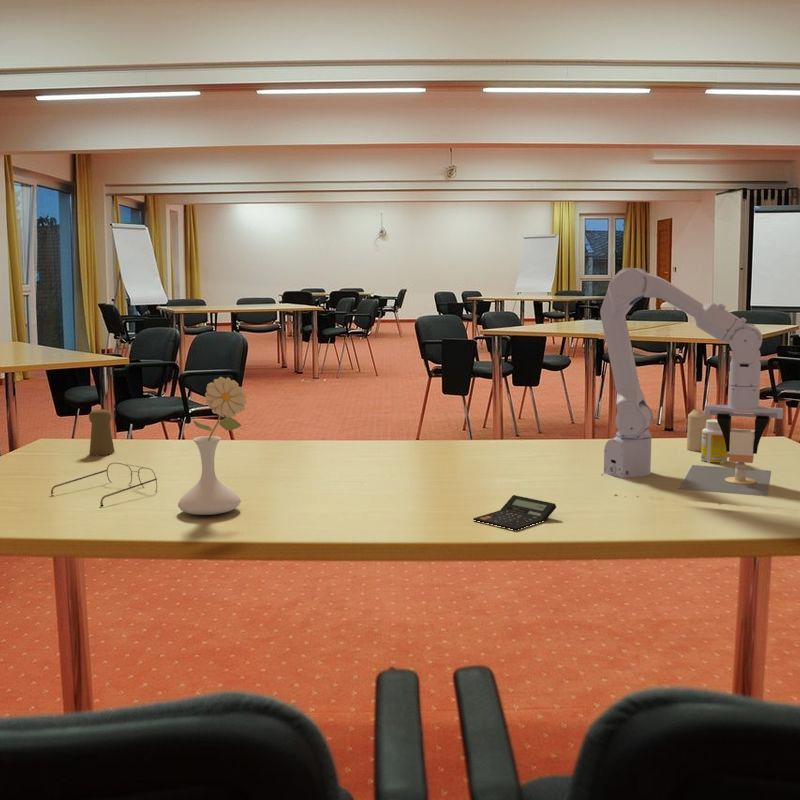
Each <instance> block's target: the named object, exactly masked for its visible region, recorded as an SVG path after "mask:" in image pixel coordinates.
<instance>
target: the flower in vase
mask: <svg viewBox="0 0 800 800" xmlns="http://www.w3.org/2000/svg"><path fill="white" fill-rule="evenodd" d="M205 389H206V392H205V394H204V398H205V400H204V402H205V404H206V405H208V406H207V407H208V408H209V409H211V412H212V413H213V414H216V415H218V418H217V421H216V423H215V426H213V429H212V428H211V426H209V425H206V424H202V423H200V422H197V421H196V420H193V424H194V425H195V427H197V428H198V429H199V428H200V429H202V430H206V431H209V432H210V434H209V435H205V436H197V437H194V438H192V441H193V442H194V444H196V446H197V448H198V450H199V454H200V458H201V459H200V461H201V475H200V479H199V480H198V481H197V483H195V484H194V485H193V486H192V487H191V488H190V489H189V490H188V491H186V492H185V493H184V494H183V496H181V497H180V499H179V500H178V503H177V507H178V508H179V510H180V511H181V512H184V513H187V514H190V515H198V516H208V515H209V516H210V515H211V516H213V515H219V514H220V515H221V514H223V513H224V514H225V513H227V512H228V513H229V512H230V511H232V510H235V509H237V508H239V506H240V504H241V503H242V500H241V498H240V496H239V494H237V493H236V492H235V491H234V490H233V489H232V488H230V487H228V486H227V485H226V484H224V483H223V482H221V480H219V479H218V477H217V475H216V472H215V455H216V450H217V448H218V447H217V446H218V444H219V442H220V441H221V439H222V438H221V437H220V436H217V435H213V434H214V432H215V430H216V428H217V426H218V425H219V426H221V428H223V430H224V431H227V432H228V431H233V430H236V429H239V428H240V427H242V424H241V423H240V422H239V421H238V420H237V419H235V418H234V417H236V414H240V413H242V411H243V412H244V411H245V404H247V399H246V398H247V395H246V392H245V391H243V387H242V386H239V383H238V382H237V381H236V380H234V379H232V380H231V378H230V377H226V378H225V377H223V376H219V377H218V378H214V379H213V382H209V383H207V385H206V387H205ZM224 416H225V417H224ZM221 417H224V418H222V419H221Z"/></svg>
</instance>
